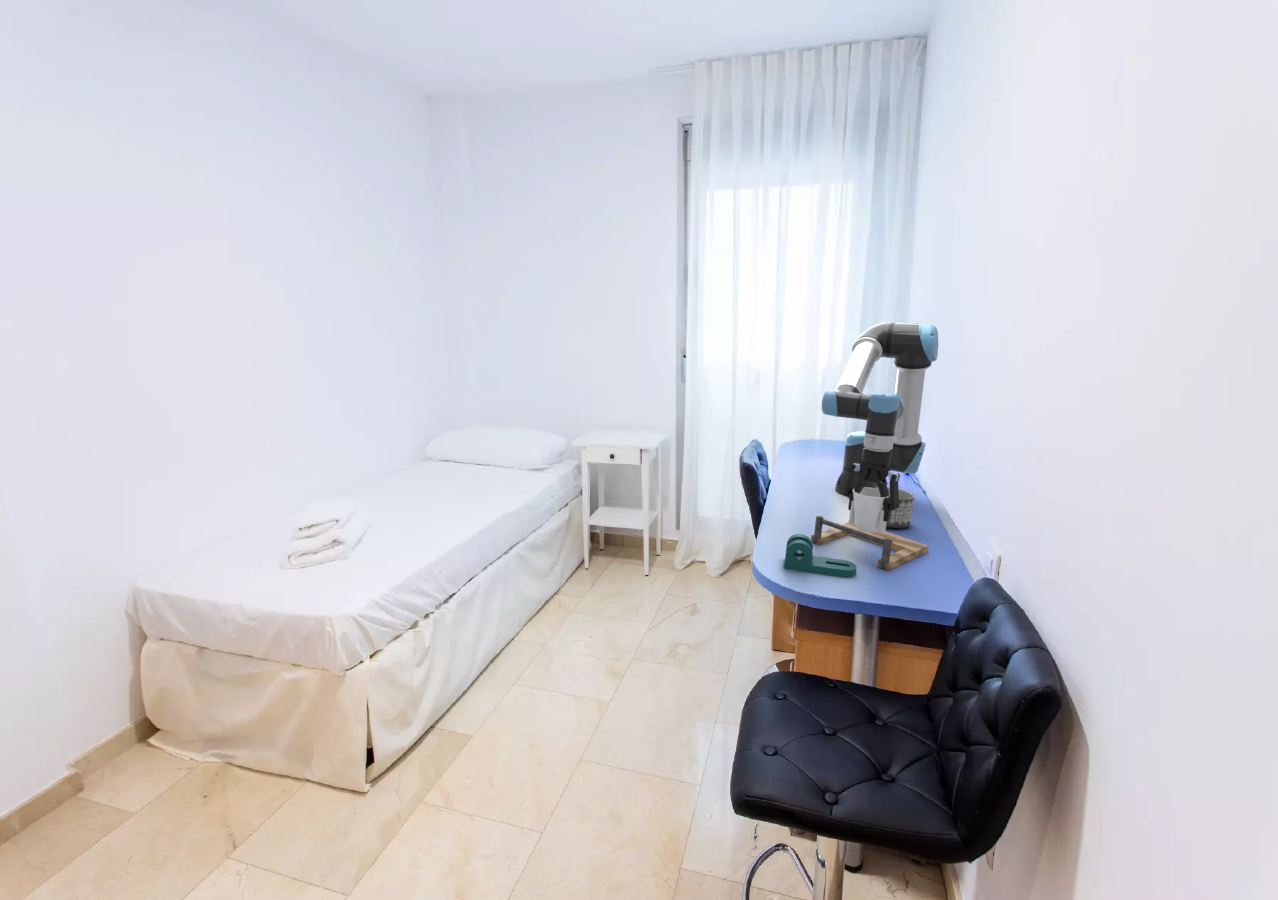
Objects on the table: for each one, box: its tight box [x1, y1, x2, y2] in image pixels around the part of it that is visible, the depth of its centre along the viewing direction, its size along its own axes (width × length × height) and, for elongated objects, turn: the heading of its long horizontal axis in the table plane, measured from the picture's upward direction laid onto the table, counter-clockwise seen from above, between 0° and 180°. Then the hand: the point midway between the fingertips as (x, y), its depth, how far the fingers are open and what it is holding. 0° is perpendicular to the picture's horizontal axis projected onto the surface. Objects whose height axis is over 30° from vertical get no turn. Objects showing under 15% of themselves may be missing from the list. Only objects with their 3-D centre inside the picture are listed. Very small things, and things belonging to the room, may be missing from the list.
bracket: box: [783, 533, 858, 579], centre depth 157 cm, size 18×7×8 cm, turn 74°
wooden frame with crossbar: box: [810, 515, 930, 572], centre depth 173 cm, size 22×24×8 cm
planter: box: [876, 486, 916, 529], centre depth 193 cm, size 13×13×10 cm
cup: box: [853, 487, 890, 532], centre depth 170 cm, size 10×10×11 cm
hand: (866, 526), depth 171 cm, fingers closed on cup, 8 cm apart
